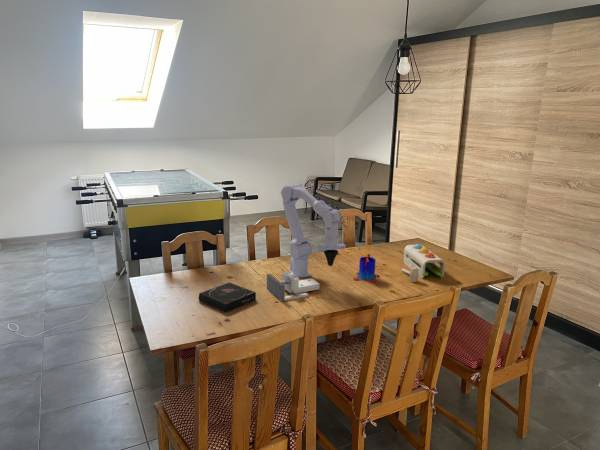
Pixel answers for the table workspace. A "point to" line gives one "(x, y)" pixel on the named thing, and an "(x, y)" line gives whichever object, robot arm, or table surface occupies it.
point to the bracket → (304, 285)
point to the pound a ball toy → (421, 262)
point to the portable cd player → (227, 297)
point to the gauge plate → (288, 282)
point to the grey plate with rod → (280, 289)
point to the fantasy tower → (367, 270)
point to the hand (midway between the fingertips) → (330, 265)
